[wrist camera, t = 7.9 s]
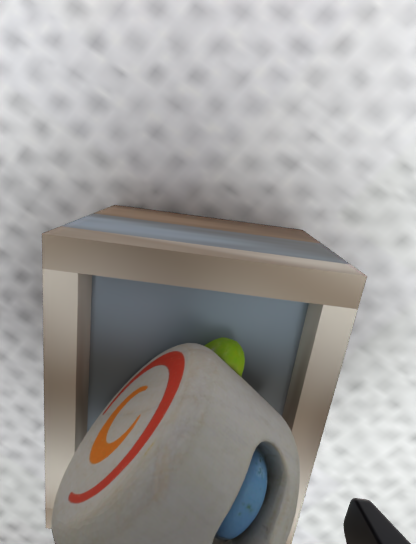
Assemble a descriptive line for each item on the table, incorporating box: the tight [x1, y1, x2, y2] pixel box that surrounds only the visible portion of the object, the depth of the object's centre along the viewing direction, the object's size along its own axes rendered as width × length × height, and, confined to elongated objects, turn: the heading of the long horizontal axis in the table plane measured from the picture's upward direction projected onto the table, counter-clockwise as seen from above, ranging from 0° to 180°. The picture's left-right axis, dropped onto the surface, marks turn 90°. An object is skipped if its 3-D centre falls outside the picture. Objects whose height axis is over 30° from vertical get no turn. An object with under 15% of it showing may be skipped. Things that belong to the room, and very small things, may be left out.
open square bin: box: [42, 205, 367, 544], centre depth 14 cm, size 11×9×7 cm
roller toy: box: [51, 337, 300, 544], centre depth 9 cm, size 4×6×6 cm
